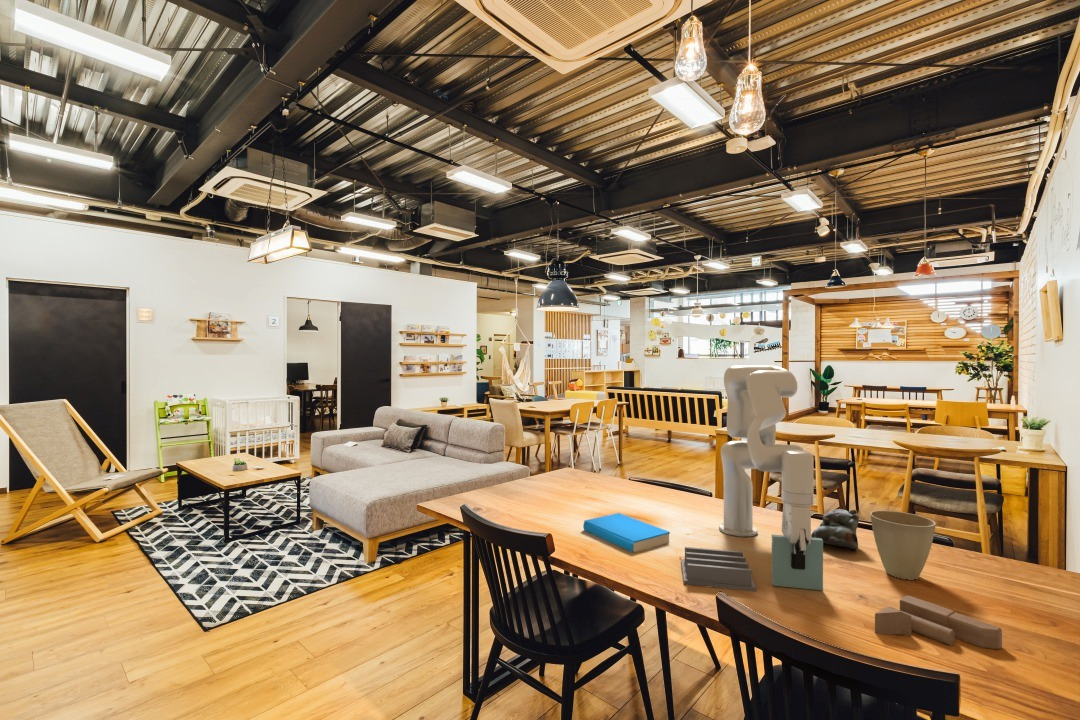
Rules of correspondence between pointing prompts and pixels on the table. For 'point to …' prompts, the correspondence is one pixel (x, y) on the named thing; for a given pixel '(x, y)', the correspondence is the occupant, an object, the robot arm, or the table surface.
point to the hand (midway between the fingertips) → (796, 566)
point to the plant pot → (902, 542)
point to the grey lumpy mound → (839, 529)
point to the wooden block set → (936, 624)
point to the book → (626, 532)
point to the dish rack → (717, 569)
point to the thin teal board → (797, 577)
